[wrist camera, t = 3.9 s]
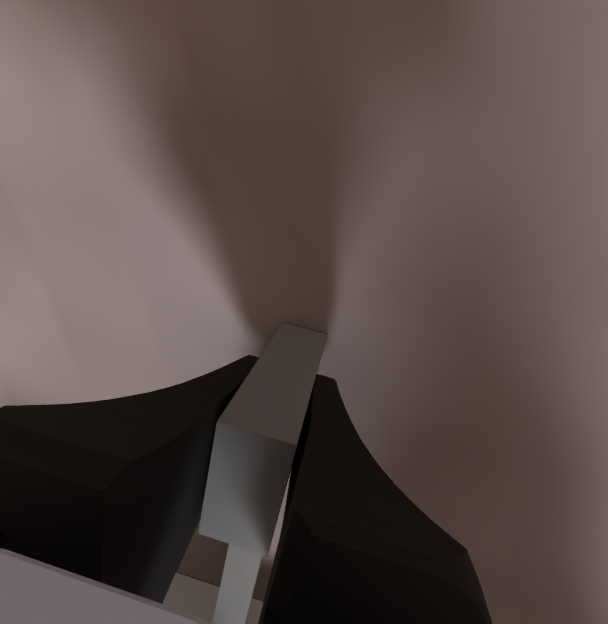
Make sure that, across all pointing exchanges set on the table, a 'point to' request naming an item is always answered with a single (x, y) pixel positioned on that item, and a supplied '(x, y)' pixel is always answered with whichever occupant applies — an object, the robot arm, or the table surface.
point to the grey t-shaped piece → (251, 475)
